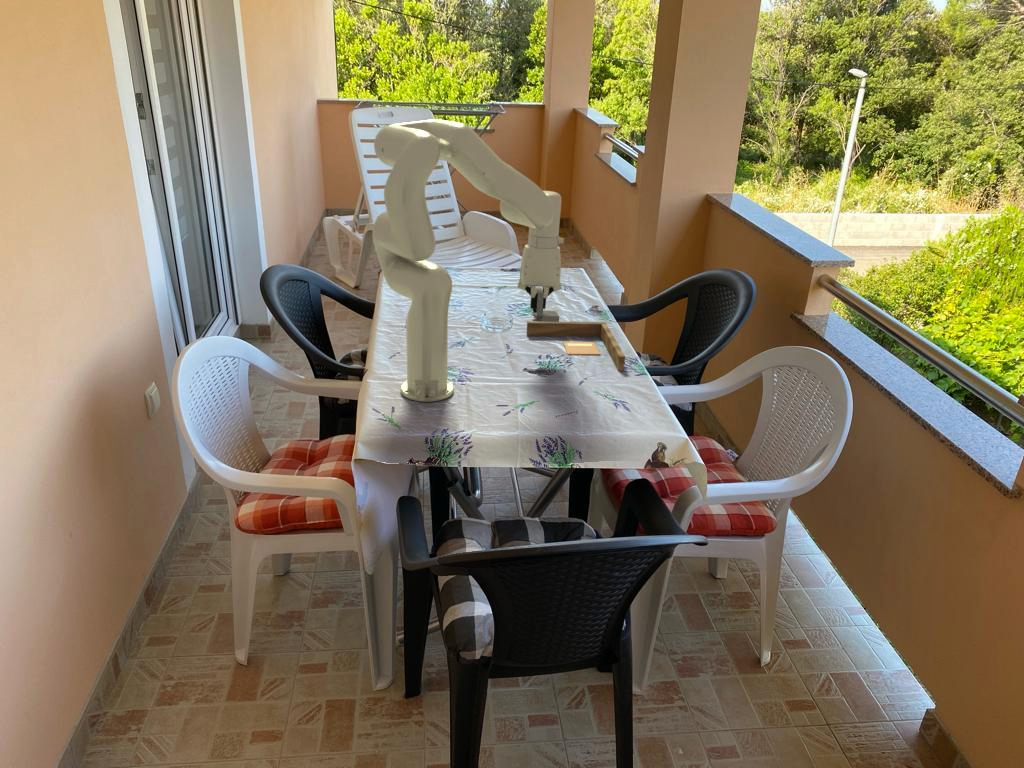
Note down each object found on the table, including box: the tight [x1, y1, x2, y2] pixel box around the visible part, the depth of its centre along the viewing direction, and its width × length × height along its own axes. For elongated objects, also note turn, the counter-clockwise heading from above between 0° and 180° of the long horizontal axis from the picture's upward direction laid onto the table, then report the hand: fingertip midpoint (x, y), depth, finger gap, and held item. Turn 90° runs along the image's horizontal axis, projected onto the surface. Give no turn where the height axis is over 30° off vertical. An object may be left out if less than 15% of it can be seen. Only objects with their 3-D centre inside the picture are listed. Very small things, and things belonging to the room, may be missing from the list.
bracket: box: [532, 287, 560, 322], centre depth 194 cm, size 6×6×8 cm
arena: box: [526, 320, 626, 372], centre depth 204 cm, size 26×23×4 cm
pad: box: [562, 341, 601, 356], centre depth 207 cm, size 9×9×1 cm
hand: (537, 310), depth 194 cm, fingers closed on bracket, 1 cm apart
